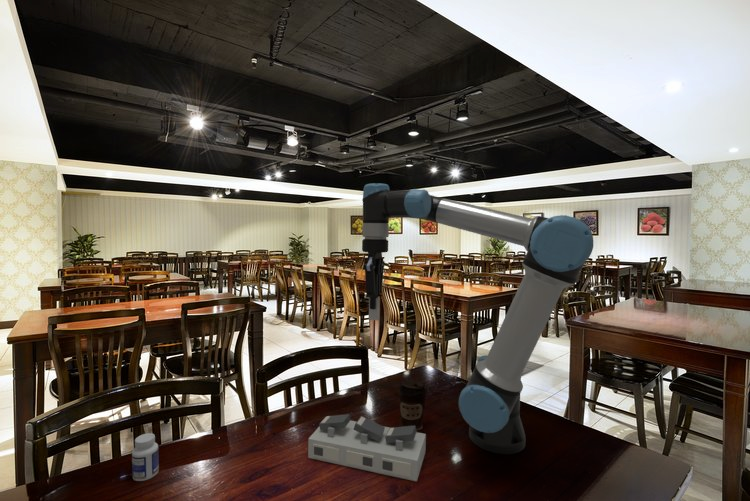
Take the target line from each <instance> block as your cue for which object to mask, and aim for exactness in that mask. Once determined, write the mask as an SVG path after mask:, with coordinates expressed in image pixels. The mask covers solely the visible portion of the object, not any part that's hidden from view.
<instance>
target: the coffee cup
mask: <svg viewBox="0 0 750 501" xmlns="http://www.w3.org/2000/svg"><path fill="white" fill-rule="evenodd" d="M398 392H399V409H400V410H399V411H400V423H401V427H404V426H414V425H415V426H416V430H417V431H419V430H422V429H423V426H424V424H423V419H424V413H425V407H426V395H427V393H428V388H427V386H426V382H424V381H422V380H420V379H419V380H418V379H407V380H404V381H402V382H401V384H400V386H399V388H398Z"/></svg>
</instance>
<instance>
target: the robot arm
mask: <svg viewBox="0 0 750 501" xmlns="http://www.w3.org/2000/svg"><path fill="white" fill-rule="evenodd" d="M361 200H362V226H361V227H360V229H361V230H362V237H363V239H362V240H361V242H362V243H361V251H362V252H363V253H367V258H366V260H365V261H366V263H364V264H363V268H364V277H365V291H366V292H365V293H366V294H365V297H366V298H368V320H369V321H379V320H380V298H382V297H383V296H384V295H383V294H382V293H383V282H384V281H383V280H384V270H385V263H386V262H385V260H384V258H383V254H384V253H387V252H388V251H389V239H387V238H388V237H389V233H390V232H389V229H390V226H389V220H390V219H391V218H403V219H404V218H407V219H416V220H417V219H418V220H425V221H429V222H432V223H435V224H436V223H437V224H440V225H443V226H444V225H445V226H446V227H452V228H455V229H458V230H462V231H466V232H470V233H473V234H477V235H480V236H485V237H487V238H492V239H494V240H495V239H496V240H500V241H504V242H506V243H510V244H514V245H518V246H522V247H524V250H525V251H527V252H526V254H525V256H524V258H523V260H522V263H521V264H522V267H523V269H524V275H523V277H522V279H521V281H520V284H519V285H518V288H517V291H516V293H515V294H514V297H513V298H512V302H511V304H510V306H509V307H508V310H507V312H506V315H505V317H504V319H503V320H502V322H501V326H500V327H499V330H498V332H497V334H496V336H495V338H494V341H493V343H492V345H491V346H490V349H489V352H488V354H487V355H481V356H479V357H478V359H477V363H476V364H475V366H474V369H473V371H472V373H471V375H470V378H469V380H468V382H467V384H466V385H465V387H463V389H462V390H461V392H460V394H459V397H458V409H459V412H460V414H461V417H462V418H463V419H464V421H465V422H466V423H467V424H468V425H469V426H468V427H469V428H468V437H469V440H471V442H472V443H473V444H474V445H475V446H477V447H479V448H480V449H483V450H485V451H487V452H490V453H493V454H494V453H495V454H498V455H513V454H518V453H520V452H522V451H523V450H524V449H525V447H526V433H525V429H524V426H523V422H522V418H521V417H520V410H521V393H522V391H523V388H524V385H523V382H522V375H523V373H524V370H525V368H526V366H527V365H528V362H529V360H530V358H531V356H532V354H533V352H534V350H535V348H536V346H537V344H538V342H539V340H540V338H541V335H542V333H543V331H544V329H545V327H546V325H547V323H548V321H549V320H550V317H551V315H552V313H553V311H554V308H555V307H556V305H557V303H558V300H559V299H560V296H561V295H562V292H563V290H564V289H566V288H568V287H571V286H574V285H575V283H576V282H577V279H578V277H579V276H580V273H581V271H582V269H583V267H584V265H585V264H586V261H588V260H589V258H590V256H591V255H592V252H593V249H594V237H593V233H592V231H591V229H590V227H589V226H588V225H587V224H586V223H585V222H583V221H582V220H581V219H578V218H577V217H574V216H569V215H563V214H560V215H555V216H550V217H546V216H540V215H537V216H534V217H533V218H531V217H526V216H522V215H518V214H513V213H509V212H505V211H501V210H497V209H492V208H487V207H483V206H478V205H474V204H470V203H465V202H463V201H462V202H461V201H458V200H457V201H456V200H452V199H449V198H443V197H440V196H435V195H431V194H430V193H429V191H428V190H426V189H419V188H413V189H402V190H399V189H398V190H390V186H389V184H386V183H375V182H374V183H366V184H365V185H364V187H363V192H362V199H361Z"/></svg>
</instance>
